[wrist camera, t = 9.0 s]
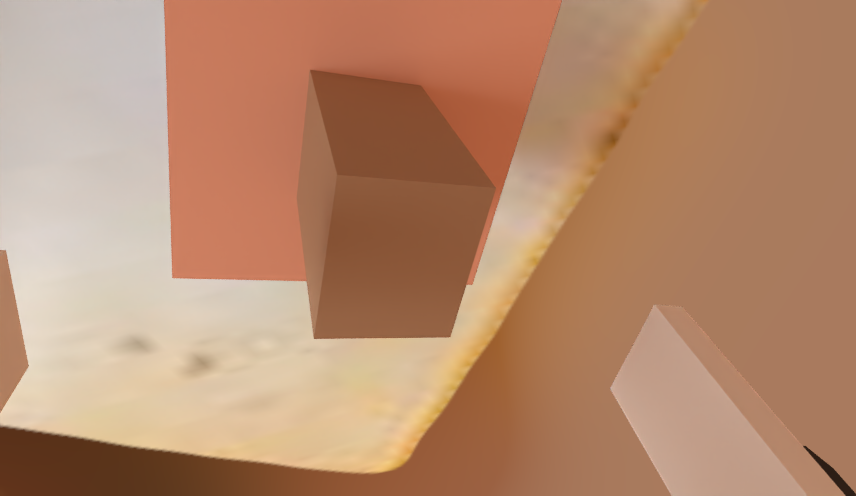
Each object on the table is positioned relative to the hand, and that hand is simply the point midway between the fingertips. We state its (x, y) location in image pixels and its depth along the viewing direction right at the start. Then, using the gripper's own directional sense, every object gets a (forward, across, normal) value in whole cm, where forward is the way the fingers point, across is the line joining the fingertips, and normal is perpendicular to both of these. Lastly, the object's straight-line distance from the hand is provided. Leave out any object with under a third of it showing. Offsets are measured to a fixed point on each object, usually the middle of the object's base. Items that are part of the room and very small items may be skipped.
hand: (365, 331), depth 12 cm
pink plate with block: (+12, 0, 0) cm, 12 cm away
